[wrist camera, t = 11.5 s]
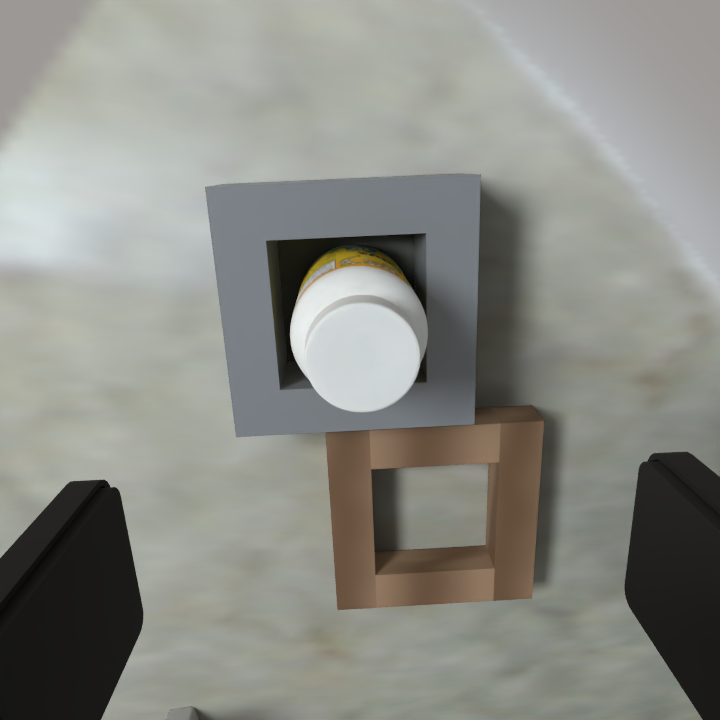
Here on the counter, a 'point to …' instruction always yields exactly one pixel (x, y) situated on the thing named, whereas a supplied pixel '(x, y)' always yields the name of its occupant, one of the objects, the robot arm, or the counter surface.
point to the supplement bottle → (358, 329)
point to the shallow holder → (441, 565)
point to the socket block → (346, 219)
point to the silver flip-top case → (182, 714)
